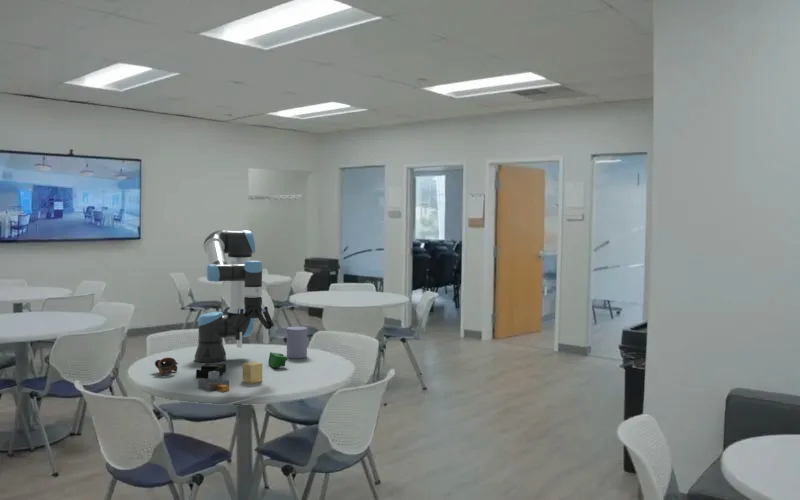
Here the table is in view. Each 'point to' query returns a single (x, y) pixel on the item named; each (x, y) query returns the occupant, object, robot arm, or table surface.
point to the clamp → (277, 360)
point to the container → (296, 342)
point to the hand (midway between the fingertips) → (252, 345)
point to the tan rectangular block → (252, 372)
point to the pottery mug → (166, 365)
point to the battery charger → (208, 368)
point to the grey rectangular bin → (214, 382)
